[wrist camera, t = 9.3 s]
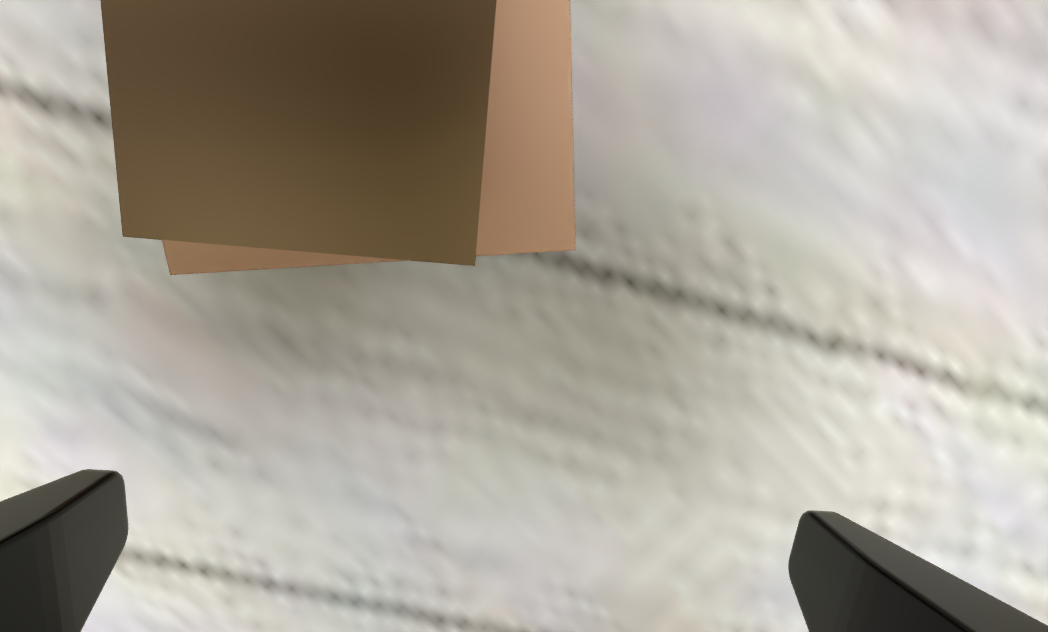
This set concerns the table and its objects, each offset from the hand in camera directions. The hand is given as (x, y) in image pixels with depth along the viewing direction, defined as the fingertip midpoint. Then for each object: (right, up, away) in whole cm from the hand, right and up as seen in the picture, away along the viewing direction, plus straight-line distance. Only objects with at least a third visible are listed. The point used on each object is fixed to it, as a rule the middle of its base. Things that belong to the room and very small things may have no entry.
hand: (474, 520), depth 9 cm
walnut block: (-3, +8, +5) cm, 9 cm away
